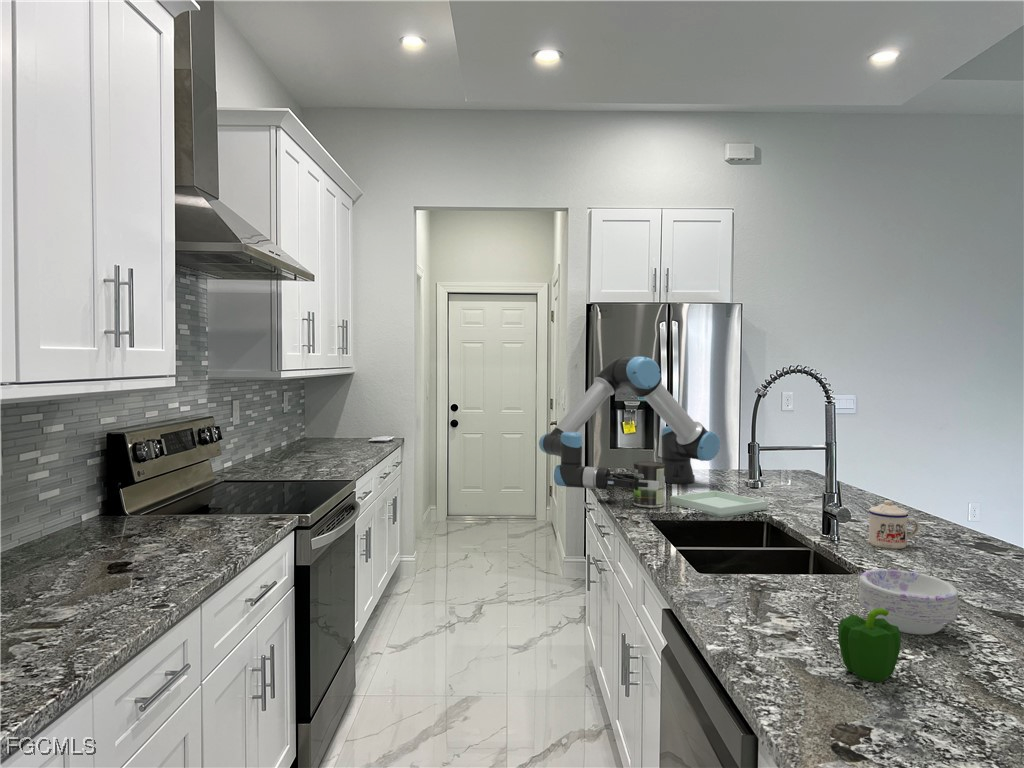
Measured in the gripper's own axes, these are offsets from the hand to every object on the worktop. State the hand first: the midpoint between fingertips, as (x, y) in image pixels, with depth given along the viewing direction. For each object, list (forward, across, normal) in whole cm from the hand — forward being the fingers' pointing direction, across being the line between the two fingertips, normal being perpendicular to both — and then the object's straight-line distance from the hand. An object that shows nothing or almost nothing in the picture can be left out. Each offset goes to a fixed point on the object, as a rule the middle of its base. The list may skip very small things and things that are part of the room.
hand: (661, 482), depth 219 cm
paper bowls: (+60, +85, -8) cm, 104 cm away
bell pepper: (+52, +110, -8) cm, 122 cm away
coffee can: (-4, 0, -8) cm, 9 cm away
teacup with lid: (+65, +23, -8) cm, 70 cm away
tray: (+18, -6, -8) cm, 20 cm away
